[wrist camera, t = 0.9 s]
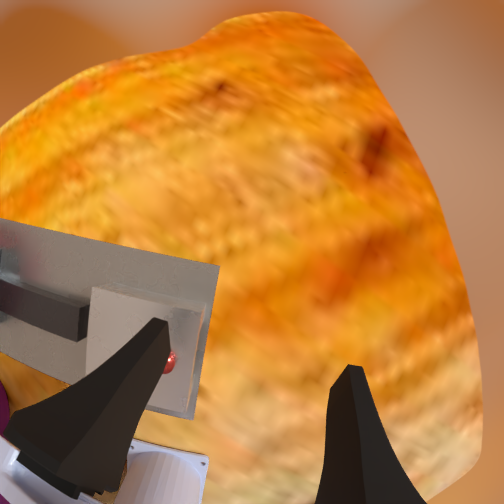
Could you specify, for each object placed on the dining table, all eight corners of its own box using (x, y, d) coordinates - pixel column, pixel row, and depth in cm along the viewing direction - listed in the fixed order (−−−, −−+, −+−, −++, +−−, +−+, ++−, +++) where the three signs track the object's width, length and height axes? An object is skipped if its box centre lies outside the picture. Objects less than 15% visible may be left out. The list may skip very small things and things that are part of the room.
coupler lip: (193, 418, 23) (188, 444, 19) (-9, 344, 21) (-33, 353, 17) (220, 266, 24) (217, 267, 19) (0, 218, 22) (-26, 212, 18)
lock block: (192, 390, 23) (184, 417, 18) (104, 367, 22) (82, 387, 18) (206, 303, 23) (200, 314, 18) (113, 282, 23) (88, 287, 18)
